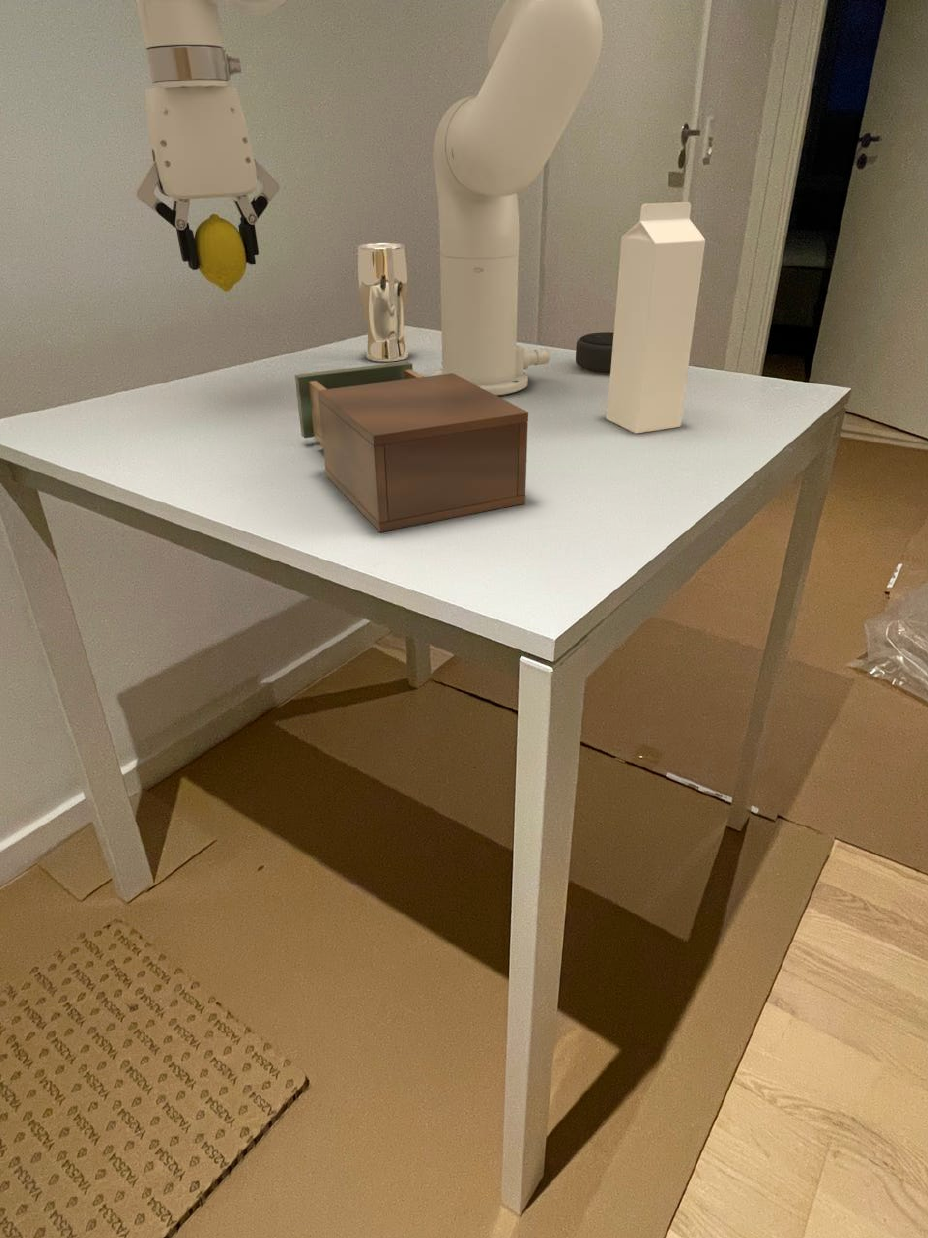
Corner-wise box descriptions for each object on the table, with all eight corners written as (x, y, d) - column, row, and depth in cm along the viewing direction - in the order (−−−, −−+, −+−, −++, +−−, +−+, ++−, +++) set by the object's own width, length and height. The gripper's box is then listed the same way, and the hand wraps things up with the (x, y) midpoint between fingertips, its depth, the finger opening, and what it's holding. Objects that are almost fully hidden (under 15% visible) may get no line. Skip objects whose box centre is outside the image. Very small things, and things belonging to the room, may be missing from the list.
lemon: (239, 296, 90) (225, 215, 86) (193, 295, 91) (178, 216, 87) (259, 287, 94) (248, 210, 90) (215, 287, 95) (202, 211, 91)
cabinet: (325, 475, 77) (317, 390, 73) (454, 453, 82) (453, 372, 78) (379, 532, 66) (373, 435, 62) (525, 503, 71) (528, 412, 67)
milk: (680, 427, 90) (712, 203, 78) (634, 434, 87) (660, 205, 76) (649, 412, 94) (674, 199, 83) (604, 418, 92) (624, 201, 81)
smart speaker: (618, 379, 107) (620, 347, 105) (562, 368, 112) (564, 338, 110) (651, 366, 113) (654, 336, 111) (597, 357, 118) (599, 328, 116)
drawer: (283, 417, 91) (276, 359, 87) (387, 403, 95) (384, 347, 92) (342, 476, 75) (336, 408, 71) (463, 456, 79) (463, 391, 76)
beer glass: (364, 352, 122) (356, 242, 114) (410, 351, 122) (406, 242, 115) (363, 363, 116) (355, 248, 108) (411, 362, 116) (407, 247, 109)
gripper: (264, 73, 88) (288, 255, 97) (95, 75, 82) (138, 269, 91) (282, 68, 82) (306, 262, 91) (102, 69, 76) (147, 277, 85)
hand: (222, 263), depth 91 cm, fingers closed on lemon, 5 cm apart
